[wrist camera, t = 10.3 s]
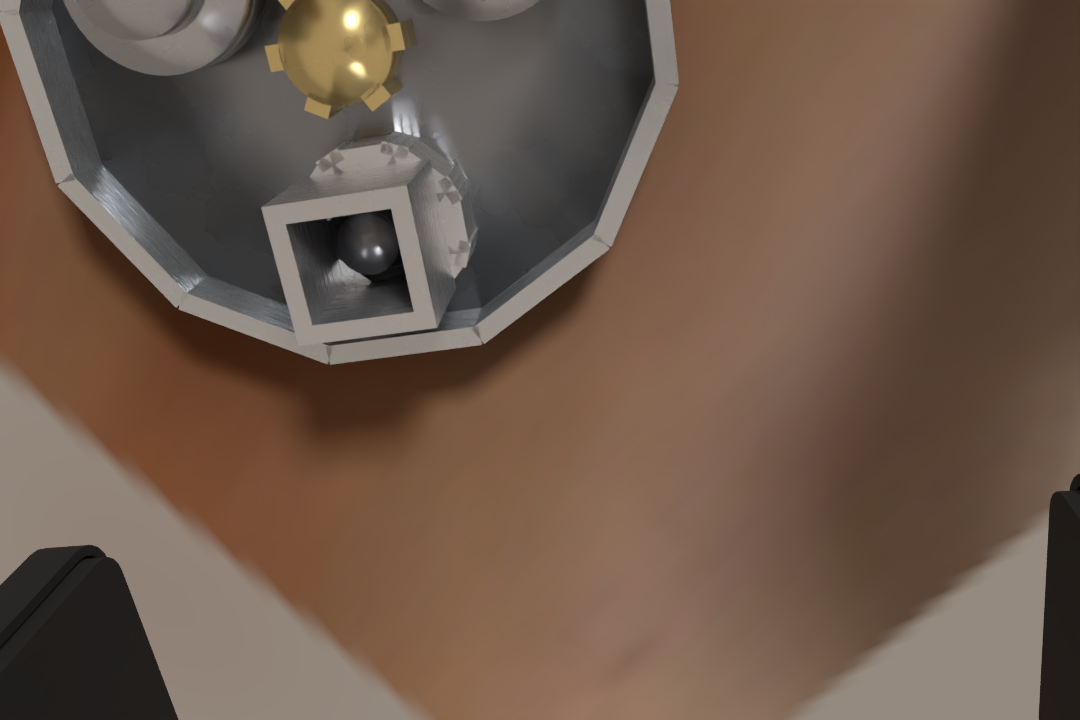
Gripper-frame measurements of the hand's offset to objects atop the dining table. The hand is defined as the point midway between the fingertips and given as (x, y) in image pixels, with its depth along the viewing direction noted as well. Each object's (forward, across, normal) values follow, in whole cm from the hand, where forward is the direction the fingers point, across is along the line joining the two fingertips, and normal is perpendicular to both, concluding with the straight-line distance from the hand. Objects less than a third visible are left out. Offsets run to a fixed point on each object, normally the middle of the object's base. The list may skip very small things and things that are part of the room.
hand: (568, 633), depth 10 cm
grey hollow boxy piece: (+25, +9, +2) cm, 27 cm away
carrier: (+27, +9, -4) cm, 28 cm away
